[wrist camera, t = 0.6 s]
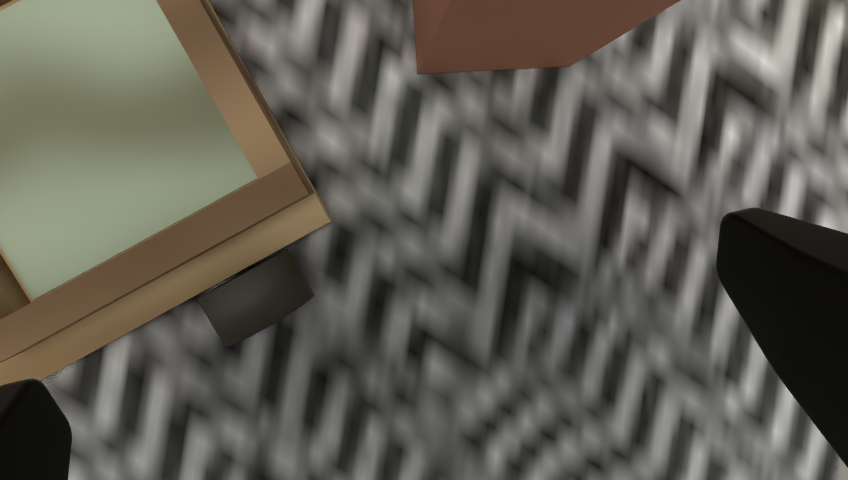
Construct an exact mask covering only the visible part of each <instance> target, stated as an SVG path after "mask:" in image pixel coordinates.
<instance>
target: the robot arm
mask: <svg viewBox="0 0 848 480" xmlns="http://www.w3.org/2000/svg"><path fill="white" fill-rule="evenodd" d="M716 268H717V273H718V277H719V279H720V281H721V283H722V285H723V287H724V288H725V290H726V292H727V293H728V295H729V297H730V298H731V300H732V302H733V303H734V305H735V307H736V308H737V310H738V312H739V313H740V315H741V317H742V318H743V320H744V322H745V323H746V325H747V327H748V328H749V330H750V332H751V333H752V335H753V337H754V338H755V340H756V342H757V343H758V345H759V347H760V348H761V350H762V352H763V353H764V355H765V357H766V358H767V360H768V361H769V363H770V364H771V366H772V368H773V369H774V371H775V372H776V373H777V375H778V376H779V378H780V379H781V380H782V382H783V383H784V384H785V386H786V387H787V389H788V390H789V391H790V392H791V394H792V395H793V396H794V398H795V399H796V400H797V402H798V403H799V404H800V406H801V407H802V408H803V410H804V411H805V412H806V413H807V415H808V416H809V417H810V419H811V420H812V421H813V423H814V424H815V425H816V427H817V428H818V429H819V431H820V432H821V433H822V434H823V436H824V437H825V438H826V440H827V441H828V442H829V444H830V445H831V446H832V448H833V449H834V450H835V452H836V453H837V454H838V455H839V457H840V458H841V459H842V461H843V462H844V463H845V465H846V466H847V467H848V234H847V233H844V232H840V231H837V230H833V229H830V228H826V227H823V226H819V225H816V224H812V223H809V222H805V221H802V220H798V219H795V218H791V217H788V216H784V215H781V214H778V213H774V212H771V211H767V210H764V209H760V208H748V209H744V210H740V211H735V212H731V213H728V214H726V215H725V216H724V217H723V219H722V221H721V224H720V232H719V242H718V251H717V260H716ZM71 444H72V433H71V428H70V425H69V422H68V420H67V418H66V417H65V415H64V414H63V412H62V411H61V409H60V408H59V406H58V405H57V403H56V402H55V400H54V399H53V397H52V396H51V394H50V393H49V391H48V390H47V388H46V387H45V386H44V384H43V383H42V382H41V381H39V380H37V379H33V378H29V379H25V380H21V381H16V382H12V383H8V384H4V385H2V386H0V480H68V473H69V463H70V454H71Z"/></svg>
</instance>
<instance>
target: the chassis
mask: <svg viewBox="0 0 848 480" xmlns="http://www.w3.org/2000/svg"><path fill="white" fill-rule="evenodd" d="M331 221H332V219H331V217H330V215H329V213H328V212H327V210H326V208H325V206H324V204H323V203H322V201H321V199H320V197H319V196H318V194H317V192H316V190H315V188H314V187H313V185H312V183H311V181H310V180H309V178H308V176H307V174H306V172H305V171H304V169H303V167H302V165H301V164H300V162H299V160H298V158H297V156H296V155H295V153H294V151H293V149H292V148H291V146H290V144H289V142H288V140H287V139H286V137H285V135H284V133H283V132H282V130H281V128H280V126H279V124H278V123H277V121H276V119H275V117H274V116H273V114H272V112H271V110H270V108H269V107H268V105H267V103H266V101H265V100H264V98H263V96H262V94H261V92H260V91H259V89H258V87H257V85H256V84H255V82H254V80H253V78H252V76H251V75H250V73H249V71H248V69H247V68H246V66H245V64H244V62H243V60H242V59H241V57H240V55H239V53H238V52H237V50H236V48H235V46H234V44H233V43H232V41H231V39H230V37H229V36H228V34H227V32H226V30H225V28H224V27H223V25H222V23H221V21H220V20H219V18H218V16H217V14H216V12H215V11H214V9H213V7H212V5H211V3H210V2H209V0H0V386H2V385H4V384H8V383H12V382H16V381H21V380H25V379H29V378H33V379H37V380H39V381H40V380H42V379H44V378H46V377H48V376H50V375H51V374H53V373H55V372H57V371H59V370H60V369H62V368H64V367H66V366H68V365H70V364H71V363H73V362H75V361H77V360H79V359H81V358H82V357H84V356H86V355H88V354H90V353H92V352H93V351H95V350H97V349H99V348H101V347H102V346H104V345H106V344H108V343H110V342H112V341H113V340H115V339H117V338H119V337H121V336H123V335H124V334H126V333H128V332H130V331H132V330H134V329H135V328H137V327H139V326H141V325H143V324H144V323H146V322H148V321H150V320H152V319H154V318H155V317H157V316H159V315H161V314H163V313H165V312H166V311H168V310H170V309H172V308H174V307H176V306H177V305H179V304H181V303H183V302H185V301H186V300H188V299H190V298H192V297H194V296H196V295H197V294H199V293H201V292H203V291H205V290H207V289H208V288H210V287H212V286H214V285H216V284H217V283H219V282H221V281H223V280H225V279H227V278H228V277H230V276H232V275H234V274H236V273H238V272H239V271H241V270H243V269H245V268H247V267H249V266H250V265H252V264H254V263H256V262H258V261H259V260H261V259H263V258H265V257H267V256H269V255H270V254H272V253H274V252H276V251H278V250H280V249H281V248H283V247H285V246H287V245H289V244H291V243H292V242H294V241H296V240H298V239H300V238H301V237H303V236H305V235H307V234H309V233H311V232H312V231H314V230H316V229H318V228H320V227H322V226H323V225H325V224H327V223H329V222H331ZM313 296H314V294H313V292H312V290H311V289H310V287H309V285H308V284H307V282H306V280H305V278H304V277H303V275H302V273H301V271H300V270H299V268H298V266H297V264H296V263H295V261H294V259H293V257H292V256H291V254H290V252H289V250H288V249H286V250H284V251H282V252H280V253H278V254H276V255H274V256H272V257H270V258H269V259H267V260H265V261H263V262H261V263H259V264H257V265H256V266H254V267H252V268H250V269H248V270H246V271H245V272H243V273H241V274H239V275H237V276H236V277H234V278H232V279H230V280H229V281H227V282H225V283H223V284H221V285H220V286H218V287H216V288H215V289H213V290H211V291H209V292H208V293H206V294H204V295H203V296H201V297H199V298H198V299H197V300H198V302H199V303H200V305H201V307H202V308H203V310H204V312H205V314H206V315H207V317H208V319H209V320H210V322H211V324H212V325H213V327H214V329H215V330H216V332H217V334H218V335H219V337H220V339H221V340H222V342H223V344H224V345H225V346H230V345H233V344H235V343H238V342H240V341H242V340H244V339H246V338H248V337H250V336H252V335H254V334H256V333H258V332H260V331H261V330H263V329H265V328H267V327H269V326H270V325H272V324H274V323H275V322H277V321H279V320H280V319H282V318H284V317H285V316H287V315H289V314H290V313H292V312H293V311H295V310H296V309H298V308H299V307H301V306H302V305H303V304H305V303H306V302H307V301H309V300H310V299H311V298H312V297H313Z"/></svg>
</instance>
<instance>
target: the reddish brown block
mask: <svg viewBox="0 0 848 480" xmlns="http://www.w3.org/2000/svg"><path fill="white" fill-rule="evenodd" d="M679 1H680V0H413V11H414V27H415V43H416V59H417V74H427V73H448V72H468V71H488V70H508V69H528V68H548V67H568V66H571V65H573V64H574V63H576V62H578V61H579V60H581V59H583V58H584V57H586V56H588V55H589V54H591V53H593V52H594V51H596V50H598V49H599V48H601V47H603V46H604V45H606V44H608V43H610V42H611V41H613V40H615V39H616V38H618V37H620V36H621V35H623V34H625V33H626V32H628V31H630V30H631V29H633V28H635V27H636V26H638V25H640V24H641V23H643V22H645V21H647V20H648V19H650V18H652V17H653V16H655V15H657V14H658V13H660V12H662V11H663V10H665V9H667V8H668V7H670V6H672V5H673V4H675V3H677V2H679Z"/></svg>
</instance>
